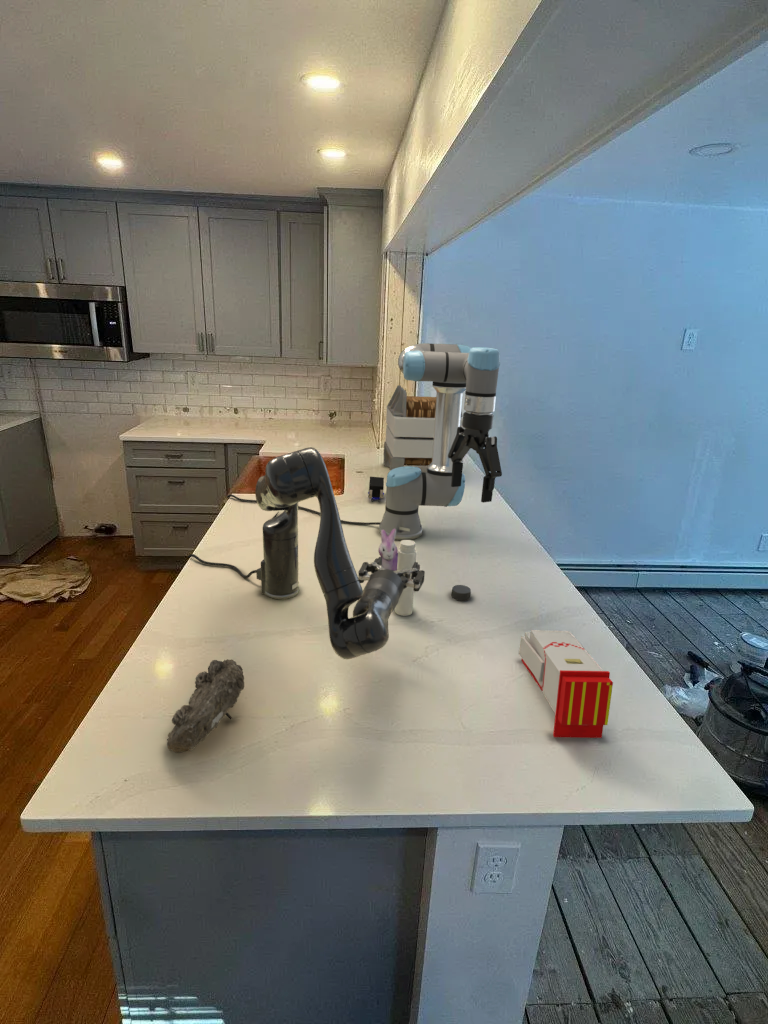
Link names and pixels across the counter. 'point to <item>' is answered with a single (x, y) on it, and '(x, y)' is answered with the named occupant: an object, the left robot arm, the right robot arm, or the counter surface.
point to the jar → (404, 561)
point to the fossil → (206, 705)
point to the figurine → (388, 550)
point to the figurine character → (376, 488)
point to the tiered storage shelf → (409, 430)
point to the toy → (568, 682)
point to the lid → (461, 592)
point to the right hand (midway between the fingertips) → (470, 493)
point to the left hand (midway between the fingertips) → (398, 563)
